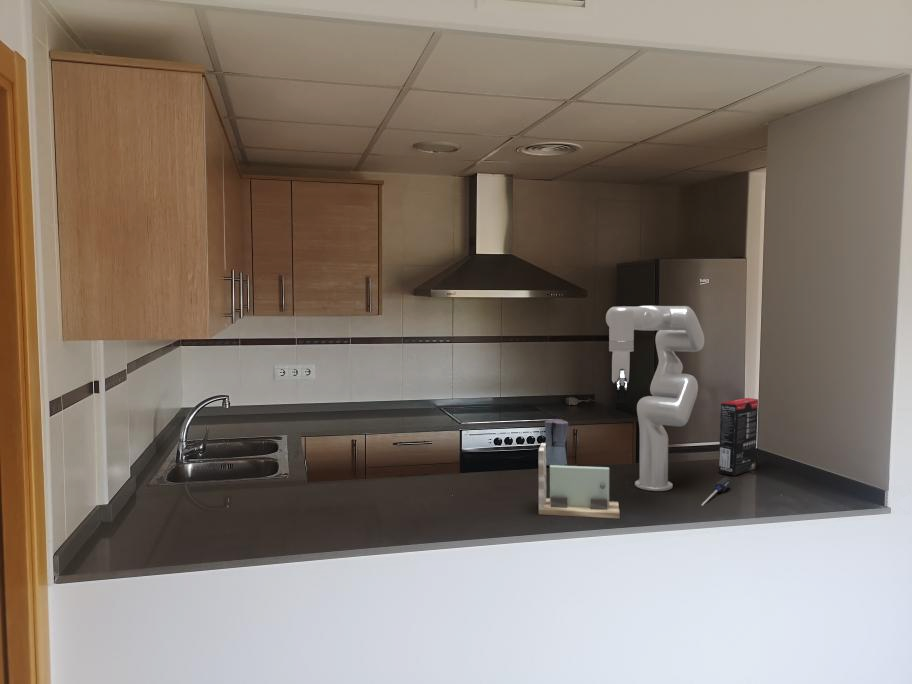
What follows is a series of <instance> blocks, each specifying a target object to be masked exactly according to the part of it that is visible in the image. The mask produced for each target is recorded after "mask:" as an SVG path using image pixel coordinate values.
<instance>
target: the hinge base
mask: <svg viewBox="0 0 912 684" xmlns="http://www.w3.org/2000/svg"><path fill="white" fill-rule="evenodd" d="M546 450H547V442H541V444H540V446H539V447H538V458H537V459H538V515H545V516H546V515H548V516H564V517H566V516H569V517H583V518H584V517H585V518H602V519H618V520H619V519H620V516H621V515H620V507H619V506H620V505H619V501H613V500H612V501H610V500H609V508H607V499H595V498H591V507H578V506H567V497H553V496H551V505H550V497H547V465H546Z"/></svg>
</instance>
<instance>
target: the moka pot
mask: <svg viewBox="0 0 912 684" xmlns="http://www.w3.org/2000/svg"><path fill="white" fill-rule="evenodd" d="M544 427H545V428H544V431H545V438H546V466H549V467H550V465H560V466H568V461H567V453H566V451H567V450H566V442H567V437H568V430H569V422H568V421H567V420H562V419H559V415H558V414H555V415H554V418H553V419H549V420H544Z"/></svg>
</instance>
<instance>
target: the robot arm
mask: <svg viewBox="0 0 912 684" xmlns="http://www.w3.org/2000/svg"><path fill="white" fill-rule="evenodd" d="M605 322H606V324H607V326H608V327H609V329H608V332H609V333H608V335H609V336H608V338H609V339H608V340H609V341H608V351H609V352H612V356H611V381H612V383H613V384H615V399H616V403H617V404H619V403H621V404H622V403H623V404H626V403H628V389H627V387H628V386H627V385H628V383H629V379H630V360H631V357H630V356H631V355H630V354H631V353H632V352H635V351H634V350H635V349H634V347H635V346H634V344H635V343H634V341H635V339H634V338H635V333H634V332H635V331H657V332H656V334H655V347H656V352H657V357H658V364H657V368H656V370H655V372H654V375H653V378H652V380H651V383H650V386H649V387H650V388H649V390H650V394H651V395H647V396H643V397H642V398H640V399H639V400H638V402H637V404H636V413H637V419H638V427H639V478H638V479H637V480H636V481H634V486H635V487H636V488H638V489H641V490H644V491H652V492H664V491H670V490H672V489H673V485H674V484H673V483H672V482H671V481H669V436H668V433H667V431H666V429H665V427H664V426H670V427H677V428H678V427H684V426H685V425H686V424H687V423H688V421H689V419H690V417H691V414H692V411H693V408H694V406H695V405H694V404H695V403H696V400H697V396H698V392H699V385H698V380H697V379H696V377H695V376H694V375H691V374H688V373H682V372H683V369H684V367H683V366H684V365H683V363H682V361H681V360H680V358H679V357H678V356H677V355H676V353H675V352H683V353H684V352H687V353H688V352H690V353H696V352H699V351H702V350H703V348H704V345H705V334H704V332H703V331H704V330H703V329H702V326H701V324H700V322H699V319H698V317H697V315H696V313H695V311H694V310H693V309H692V308H691V307H690V306H688V305H639V306H625V305H623V306H612V307H610V308H609V309H608V310H607V312H606V314H605ZM630 352H631V353H630Z"/></svg>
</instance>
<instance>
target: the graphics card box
mask: <svg viewBox="0 0 912 684" xmlns="http://www.w3.org/2000/svg"><path fill="white" fill-rule="evenodd" d="M758 410H759V399H757V398H754V397H753V398H752V397H751V398H750V397H747V398H738V399H734V400H727V401H723V402H721V403H720V423H719V446H718V447H719V449H718V450H719V452H718V453H719V454H718V473H719V474H723V475H724V474H725V475H729V476H732V477H735V476H737V475H742V474H744V473H747V472H750V471H754V470H756V467H757V466H756V465H757V440H758V439H757V438H758V436H757V435H758V415H759V413H758Z"/></svg>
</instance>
